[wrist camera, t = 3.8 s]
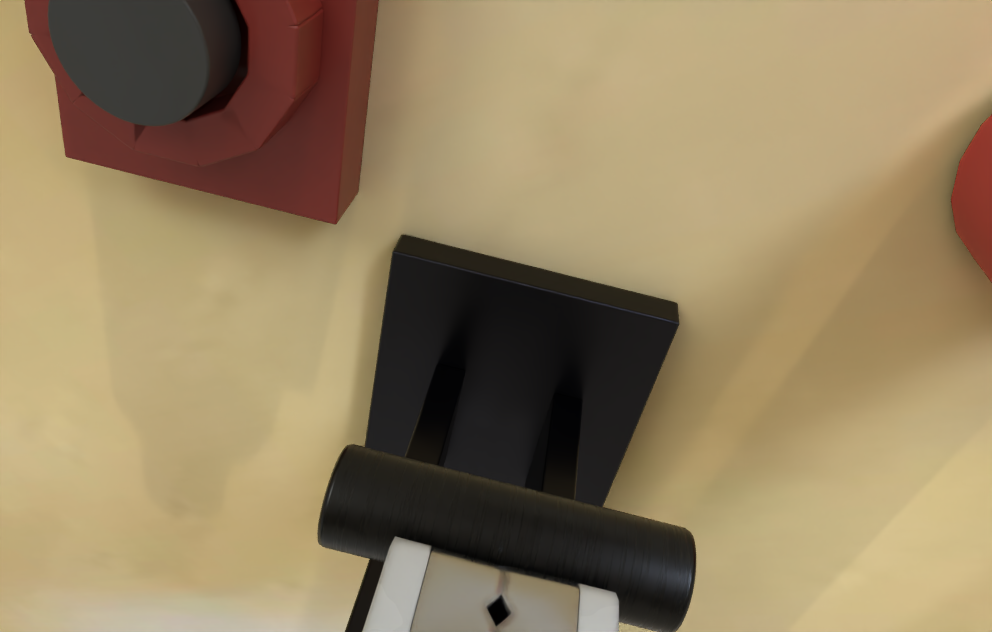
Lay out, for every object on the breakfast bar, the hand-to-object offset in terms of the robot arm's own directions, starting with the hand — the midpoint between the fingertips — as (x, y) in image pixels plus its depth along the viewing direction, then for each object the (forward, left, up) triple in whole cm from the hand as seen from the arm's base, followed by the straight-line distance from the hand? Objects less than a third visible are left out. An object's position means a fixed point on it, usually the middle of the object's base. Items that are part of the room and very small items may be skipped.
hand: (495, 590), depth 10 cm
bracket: (+10, 0, -15) cm, 18 cm away
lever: (+5, 0, -3) cm, 6 cm away
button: (-2, -10, -11) cm, 15 cm away
